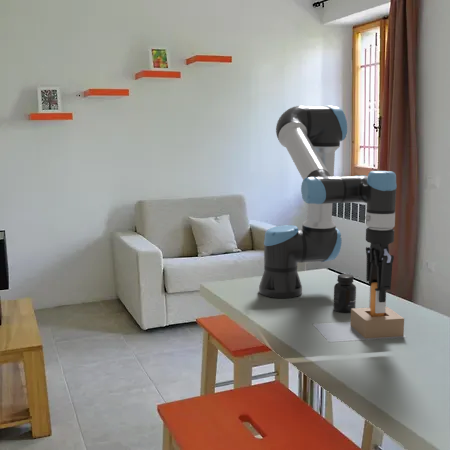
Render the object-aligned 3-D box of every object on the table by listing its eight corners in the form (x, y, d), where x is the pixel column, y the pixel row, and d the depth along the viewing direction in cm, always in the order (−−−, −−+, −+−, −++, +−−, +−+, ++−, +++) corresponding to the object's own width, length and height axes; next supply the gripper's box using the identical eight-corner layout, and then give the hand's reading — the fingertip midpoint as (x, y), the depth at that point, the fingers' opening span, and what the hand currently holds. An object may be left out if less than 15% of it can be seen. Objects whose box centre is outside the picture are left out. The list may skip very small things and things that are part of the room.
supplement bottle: (355, 316, 182) (356, 278, 180) (333, 315, 183) (333, 277, 181) (355, 310, 188) (356, 273, 186) (333, 308, 190) (334, 272, 188)
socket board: (312, 327, 172) (312, 307, 171) (383, 323, 176) (384, 303, 175) (329, 345, 158) (329, 324, 157) (406, 340, 161) (407, 319, 160)
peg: (367, 323, 167) (369, 282, 166) (380, 322, 168) (381, 281, 166) (373, 327, 164) (374, 285, 162) (385, 327, 164) (386, 285, 163)
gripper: (355, 223, 169) (353, 302, 173) (379, 233, 153) (376, 320, 157) (380, 222, 170) (377, 301, 174) (406, 232, 154) (403, 318, 158)
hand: (377, 310), depth 165 cm, fingers closed on peg, 3 cm apart
